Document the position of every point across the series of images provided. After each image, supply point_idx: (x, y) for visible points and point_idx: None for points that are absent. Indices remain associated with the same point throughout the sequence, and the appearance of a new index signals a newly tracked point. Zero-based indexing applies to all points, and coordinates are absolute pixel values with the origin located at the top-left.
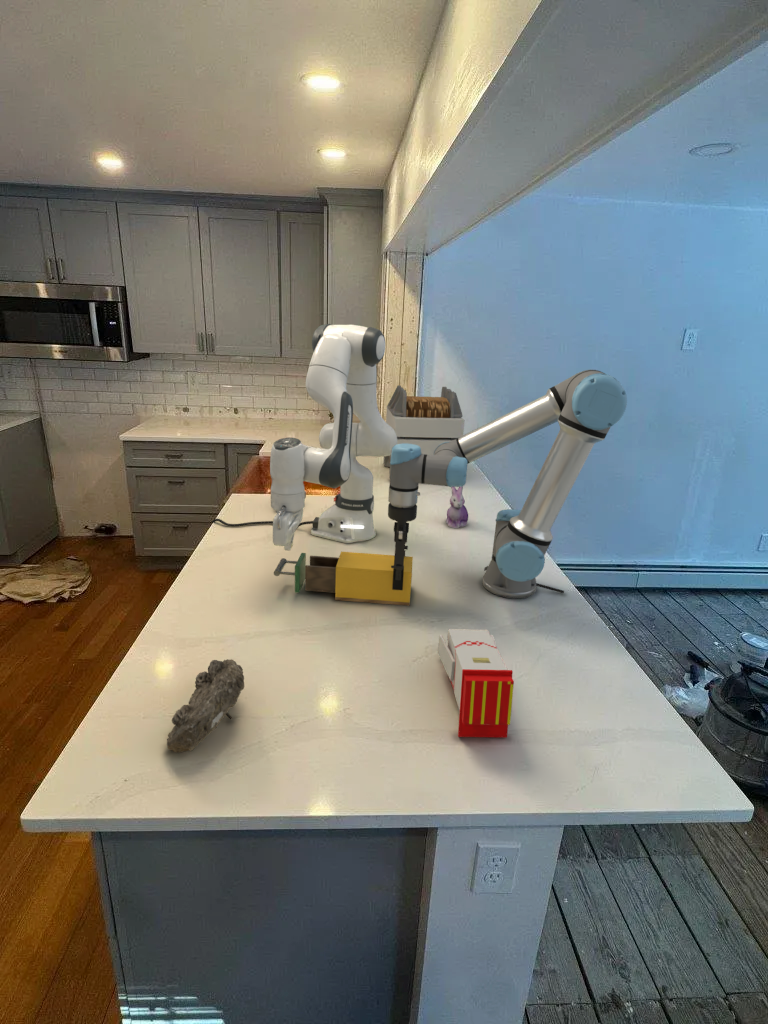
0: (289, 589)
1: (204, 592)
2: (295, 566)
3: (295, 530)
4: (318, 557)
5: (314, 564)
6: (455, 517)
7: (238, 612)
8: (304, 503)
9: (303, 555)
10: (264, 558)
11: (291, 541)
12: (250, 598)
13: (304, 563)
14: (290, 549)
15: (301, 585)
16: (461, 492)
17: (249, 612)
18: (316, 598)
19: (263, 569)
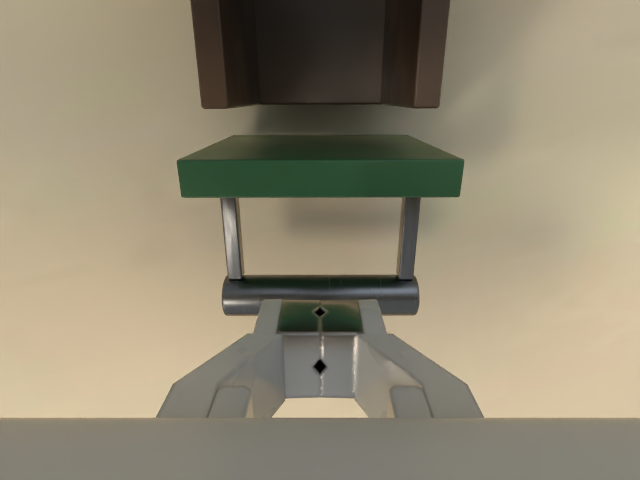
0: (331, 198)
1: None
2: (458, 190)
3: (246, 426)
4: (221, 14)
5: (240, 64)
6: None
7: (544, 345)
8: None
9: (235, 168)
10: (50, 372)
11: (284, 342)
12: (430, 333)
13: (246, 149)
14: (377, 301)
15: (350, 136)
16: None
17: (547, 308)
18: None
19: (159, 351)
